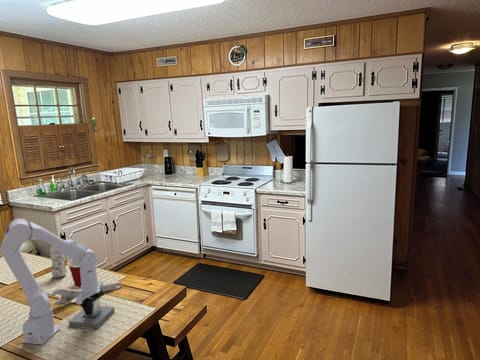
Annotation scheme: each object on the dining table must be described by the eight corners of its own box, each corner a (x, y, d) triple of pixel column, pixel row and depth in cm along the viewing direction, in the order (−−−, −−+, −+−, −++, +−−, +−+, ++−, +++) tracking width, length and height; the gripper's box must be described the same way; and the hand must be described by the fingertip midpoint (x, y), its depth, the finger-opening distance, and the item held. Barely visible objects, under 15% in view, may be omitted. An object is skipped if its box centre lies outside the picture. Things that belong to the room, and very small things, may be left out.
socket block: (97, 328, 123) (97, 324, 123) (69, 326, 125) (68, 321, 125) (114, 311, 135) (114, 307, 134) (88, 309, 137) (87, 304, 136)
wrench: (121, 293, 156) (50, 309, 136) (120, 291, 157) (49, 307, 137) (122, 276, 155) (51, 291, 135) (121, 275, 157) (50, 289, 137)
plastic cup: (87, 289, 154) (85, 265, 152) (65, 289, 154) (62, 265, 152) (98, 279, 164) (96, 256, 162) (76, 279, 164) (74, 256, 163)
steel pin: (94, 319, 127) (93, 302, 126) (85, 318, 128) (84, 301, 127) (100, 313, 131) (99, 297, 130) (91, 312, 132) (90, 296, 131)
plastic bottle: (52, 275, 169) (48, 238, 166) (67, 272, 172) (63, 236, 169) (51, 280, 163) (47, 242, 160) (66, 277, 166) (62, 240, 163)
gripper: (86, 289, 120) (90, 322, 122) (108, 271, 134) (111, 302, 136) (69, 287, 121) (73, 321, 123) (93, 270, 135) (95, 301, 137)
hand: (92, 311), depth 129 cm, fingers closed on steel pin, 4 cm apart
